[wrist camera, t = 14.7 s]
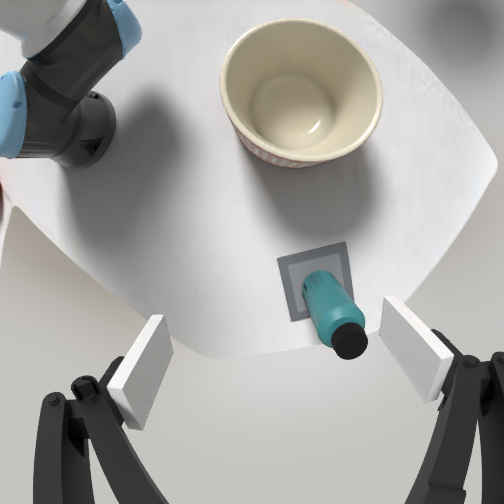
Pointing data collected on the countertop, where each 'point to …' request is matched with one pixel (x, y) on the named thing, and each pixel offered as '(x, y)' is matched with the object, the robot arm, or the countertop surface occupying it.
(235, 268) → the countertop surface
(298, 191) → the countertop surface
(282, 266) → the slate mat
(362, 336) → the beverage bottle
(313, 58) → the planter
